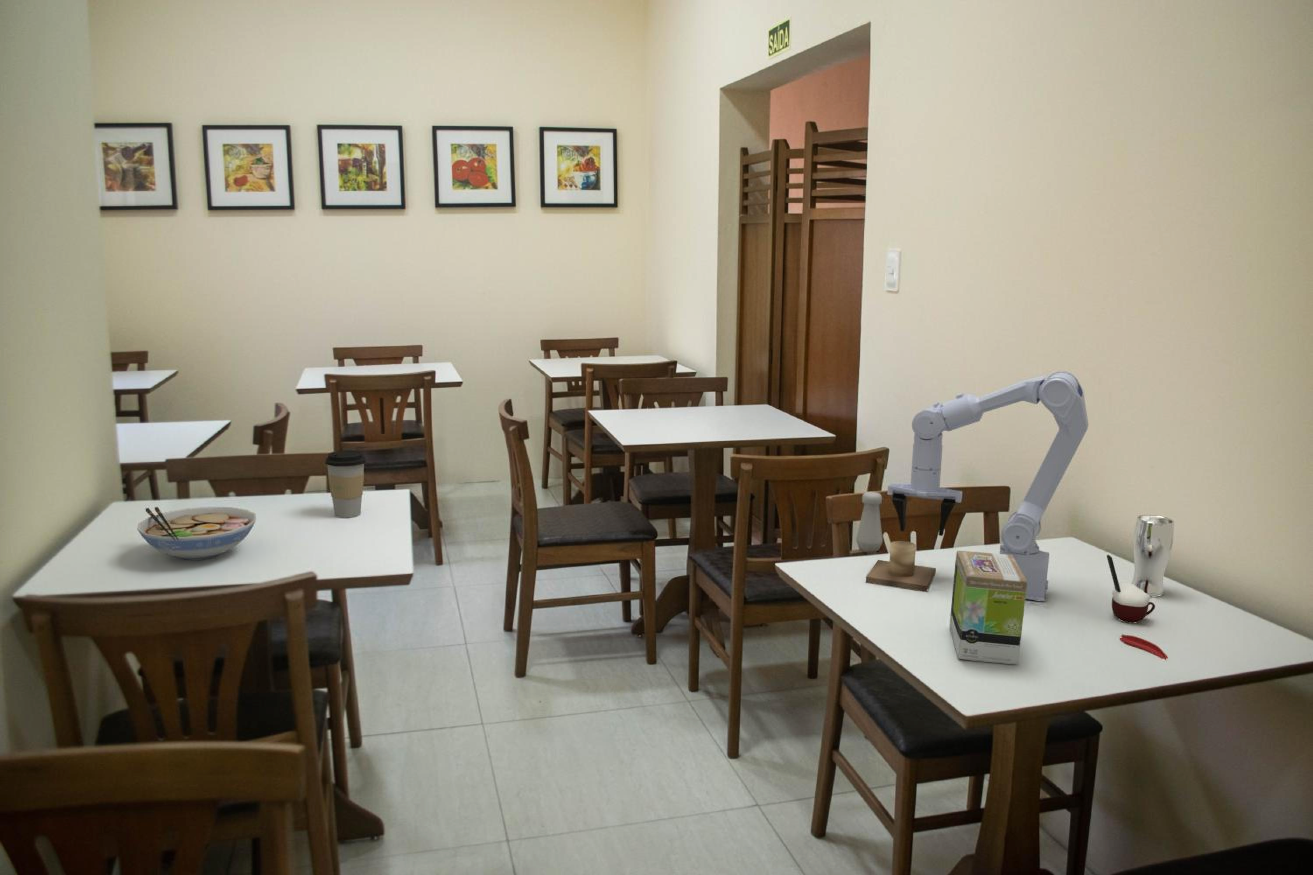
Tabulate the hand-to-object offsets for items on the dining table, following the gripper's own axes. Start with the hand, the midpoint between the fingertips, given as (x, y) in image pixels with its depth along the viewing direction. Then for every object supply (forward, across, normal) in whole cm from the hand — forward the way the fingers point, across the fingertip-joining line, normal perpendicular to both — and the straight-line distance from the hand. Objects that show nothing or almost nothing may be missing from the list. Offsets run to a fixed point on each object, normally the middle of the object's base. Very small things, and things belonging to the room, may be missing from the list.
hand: (921, 532), depth 210 cm
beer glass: (+10, +43, +10) cm, 45 cm away
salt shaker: (+9, -13, +13) cm, 21 cm away
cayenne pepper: (+10, +41, -21) cm, 47 cm away
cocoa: (+10, +39, -8) cm, 41 cm away
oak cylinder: (+8, -3, -4) cm, 9 cm away
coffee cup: (+9, -132, -16) cm, 133 cm away
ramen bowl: (+9, -140, -53) cm, 150 cm away
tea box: (+10, +16, -32) cm, 37 cm away
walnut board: (+9, -3, -3) cm, 10 cm away
